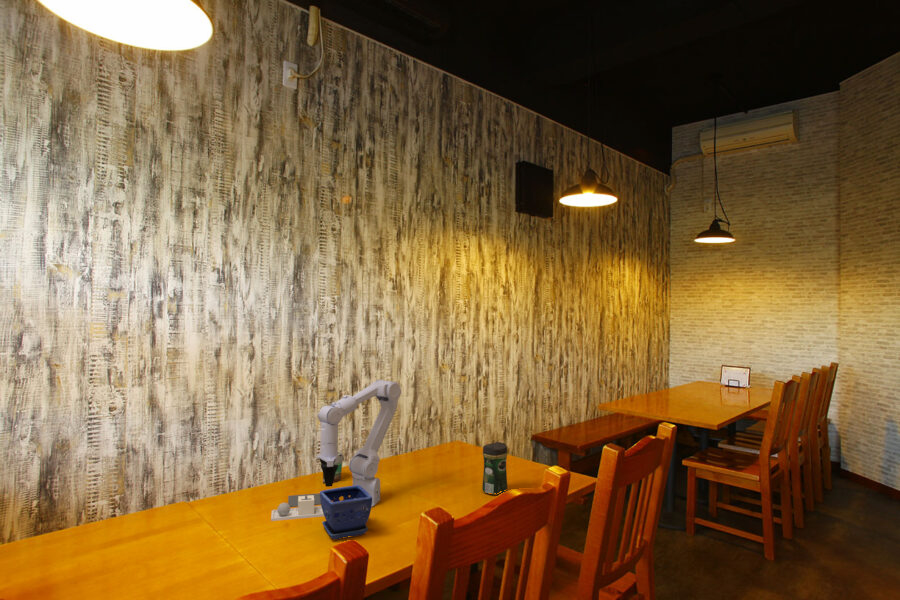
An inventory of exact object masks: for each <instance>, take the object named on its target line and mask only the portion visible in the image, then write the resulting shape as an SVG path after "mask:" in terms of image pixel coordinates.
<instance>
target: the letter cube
mask: <svg viewBox="0 0 900 600" xmlns="http://www.w3.org/2000/svg"><path fill="white" fill-rule="evenodd" d="M314 507H315V505H314V495H309V496H298V507H297V508H298V516H299V515H310V514H314Z"/></svg>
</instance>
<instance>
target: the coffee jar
mask: <svg viewBox="0 0 900 600" xmlns="http://www.w3.org/2000/svg"><path fill="white" fill-rule="evenodd" d="M482 457H483V475H482V489H481V490H483V491H484V492H486V493H492V494H494V493H496V494H497V493H499V492H500V491H502V492H501V493H502V494H504V493H506V492H507V491H508V478H507V477H508V475H507V473H508V472H507V457H508V446H507V444H506V443H504V442H501V441H496V442H492V443H488V444H485V445H483V446H482ZM506 489H507V490H506ZM504 490H506V492H505V491H504ZM483 491H482V492H483ZM484 492H483V493H484ZM503 492H504V493H503ZM486 493H485V494H486ZM501 493H499V495H502V494H501Z"/></svg>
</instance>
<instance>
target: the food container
mask: <svg viewBox="0 0 900 600" xmlns="http://www.w3.org/2000/svg"><path fill="white" fill-rule="evenodd" d="M344 461H345V455H344V454H343V453H342V452H340V451H338V458H337V459H336V460H335V463H334V465H338V469H337V471H336V473H335V476H334V481H333V484H336V483H338V481H339V482H340V481H341V479H342V468H343V462H344ZM322 484H324V485H325V480H324V476H323V475H322Z"/></svg>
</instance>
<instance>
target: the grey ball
mask: <svg viewBox="0 0 900 600" xmlns="http://www.w3.org/2000/svg"><path fill="white" fill-rule="evenodd" d="M290 509H291V507H290V506H289V504H288V502H282V503H280V504H279V505H278V506H277V510H278V513H279V515H281V516H285V515H287V514H288V513H289V512H290Z"/></svg>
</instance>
